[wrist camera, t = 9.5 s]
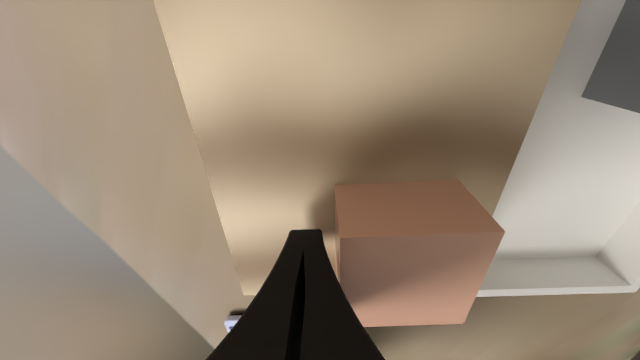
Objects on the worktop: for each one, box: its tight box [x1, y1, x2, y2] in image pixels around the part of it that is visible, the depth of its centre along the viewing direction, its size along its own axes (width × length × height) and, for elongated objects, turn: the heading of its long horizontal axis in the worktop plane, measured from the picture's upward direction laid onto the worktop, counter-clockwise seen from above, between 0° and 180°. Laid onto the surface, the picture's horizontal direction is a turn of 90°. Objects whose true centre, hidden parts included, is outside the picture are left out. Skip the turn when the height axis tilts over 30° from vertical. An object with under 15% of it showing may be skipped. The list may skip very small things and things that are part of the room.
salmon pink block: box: [334, 180, 505, 327], centre depth 10 cm, size 5×5×3 cm
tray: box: [476, 0, 640, 297], centre depth 11 cm, size 17×10×2 cm, turn 2°
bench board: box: [153, 0, 581, 295], centre depth 11 cm, size 16×12×2 cm
